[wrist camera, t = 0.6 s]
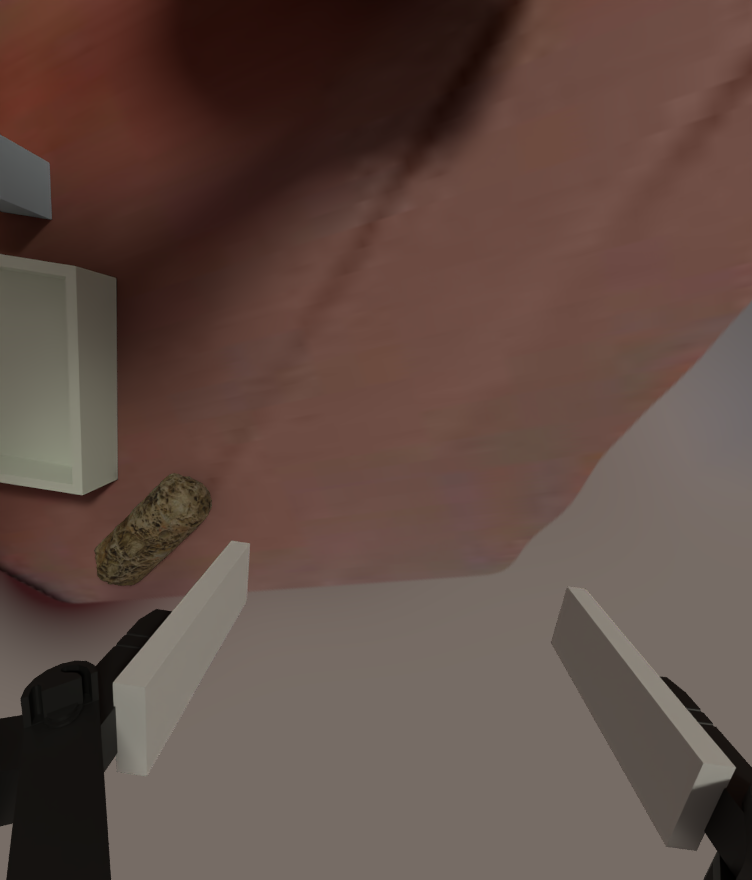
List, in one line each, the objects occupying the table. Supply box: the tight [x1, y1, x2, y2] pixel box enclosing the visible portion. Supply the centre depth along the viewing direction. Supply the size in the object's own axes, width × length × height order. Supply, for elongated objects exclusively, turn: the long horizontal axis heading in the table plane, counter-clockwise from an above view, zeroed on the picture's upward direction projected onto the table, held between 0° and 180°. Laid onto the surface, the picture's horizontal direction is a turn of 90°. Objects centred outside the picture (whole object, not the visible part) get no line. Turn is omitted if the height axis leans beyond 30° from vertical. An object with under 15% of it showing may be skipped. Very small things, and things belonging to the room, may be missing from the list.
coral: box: [94, 473, 212, 586], centre depth 40 cm, size 14×6×6 cm, turn 132°
